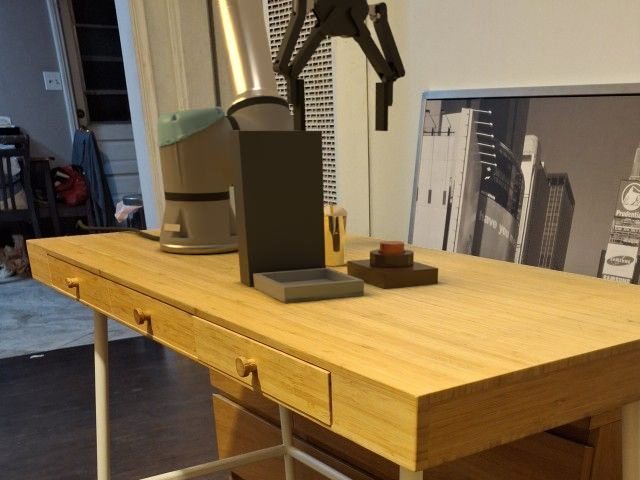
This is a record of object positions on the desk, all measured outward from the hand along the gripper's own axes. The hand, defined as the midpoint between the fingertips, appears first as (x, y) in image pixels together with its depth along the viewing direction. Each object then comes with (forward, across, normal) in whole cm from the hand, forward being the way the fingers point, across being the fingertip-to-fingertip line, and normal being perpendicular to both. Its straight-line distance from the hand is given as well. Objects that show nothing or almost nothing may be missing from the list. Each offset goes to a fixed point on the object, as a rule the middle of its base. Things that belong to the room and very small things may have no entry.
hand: (341, 131), depth 113 cm
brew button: (+16, +2, -12) cm, 20 cm away
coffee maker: (+20, -13, -13) cm, 27 cm away
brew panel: (+20, +2, -12) cm, 23 cm away
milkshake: (+20, 0, +4) cm, 21 cm away
